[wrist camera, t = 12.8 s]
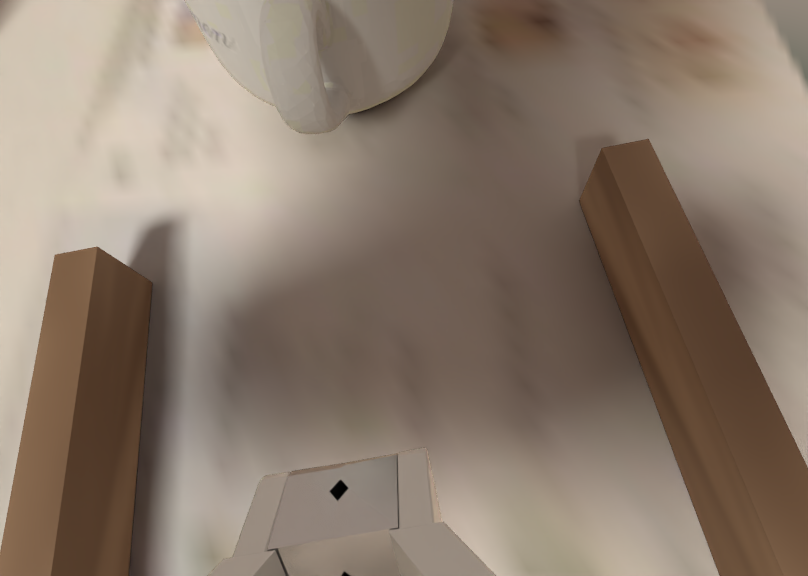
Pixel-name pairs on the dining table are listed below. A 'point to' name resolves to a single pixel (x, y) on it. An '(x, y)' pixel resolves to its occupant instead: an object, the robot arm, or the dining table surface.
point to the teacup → (323, 51)
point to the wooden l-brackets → (643, 315)
